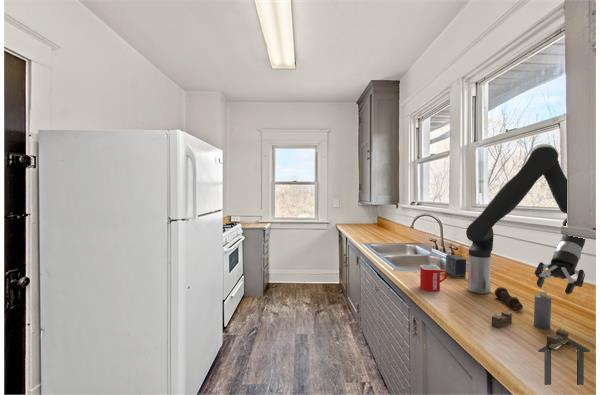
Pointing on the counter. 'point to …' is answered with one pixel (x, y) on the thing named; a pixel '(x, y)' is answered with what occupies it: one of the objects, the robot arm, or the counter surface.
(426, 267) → the mug
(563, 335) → the notched blocks
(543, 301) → the grey cylindrical bottle
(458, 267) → the small box
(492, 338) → the counter surface
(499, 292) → the dark brown lumpy bar
